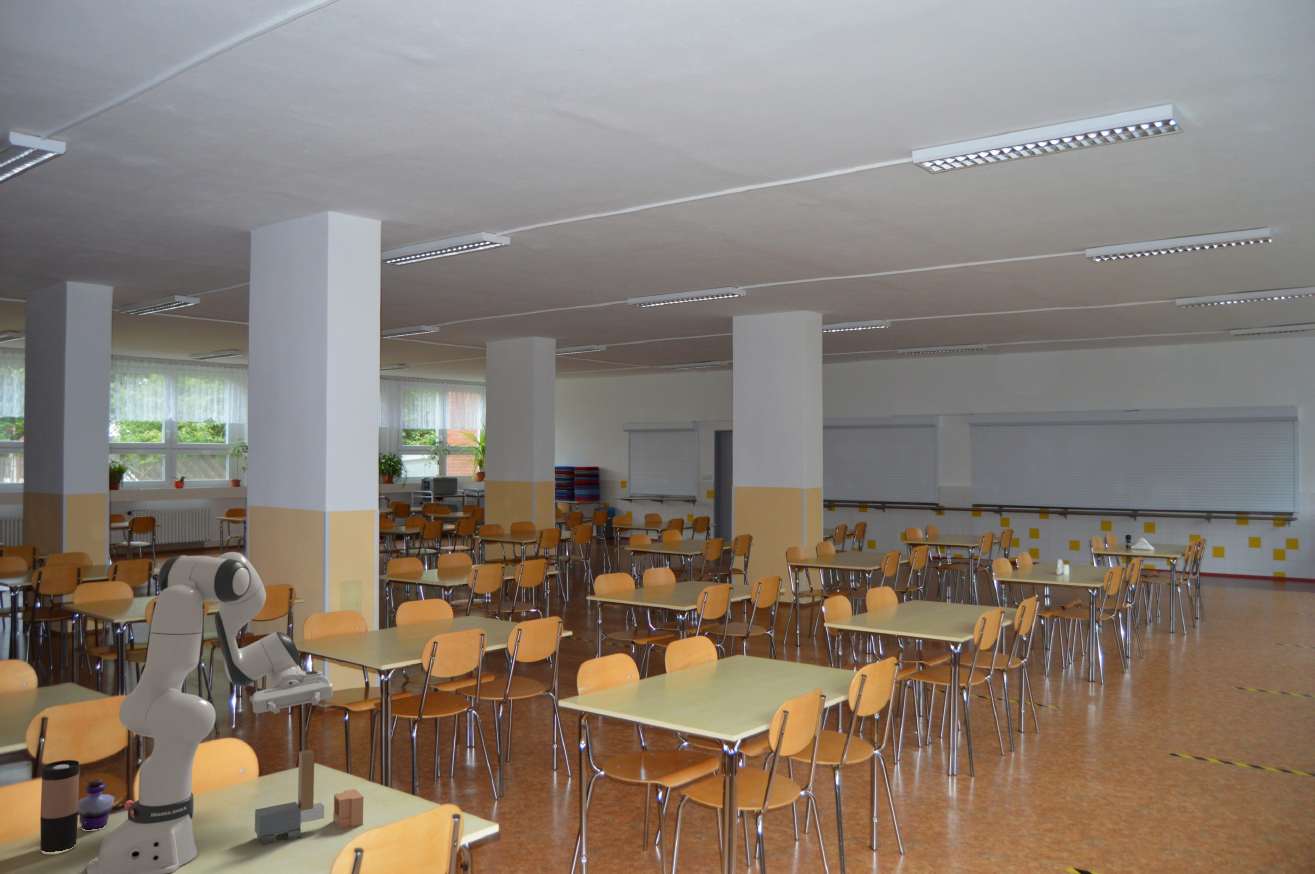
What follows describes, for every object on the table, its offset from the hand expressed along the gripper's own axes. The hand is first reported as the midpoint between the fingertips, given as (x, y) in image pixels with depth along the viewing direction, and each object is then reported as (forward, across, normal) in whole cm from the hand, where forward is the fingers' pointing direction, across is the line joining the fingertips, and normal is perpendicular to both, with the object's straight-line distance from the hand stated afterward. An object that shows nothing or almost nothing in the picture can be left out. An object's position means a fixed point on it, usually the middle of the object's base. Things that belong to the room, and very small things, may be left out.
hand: (296, 706), depth 241 cm
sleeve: (+15, -8, +27) cm, 32 cm away
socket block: (+13, +9, +29) cm, 33 cm away
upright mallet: (+14, -4, +24) cm, 28 cm away
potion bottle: (-13, -49, +26) cm, 57 cm away
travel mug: (-2, -55, +24) cm, 60 cm away
